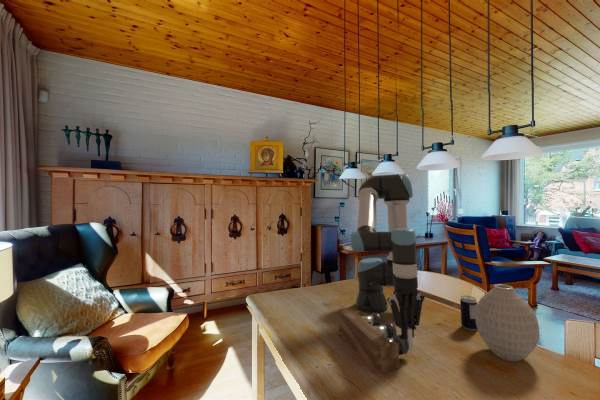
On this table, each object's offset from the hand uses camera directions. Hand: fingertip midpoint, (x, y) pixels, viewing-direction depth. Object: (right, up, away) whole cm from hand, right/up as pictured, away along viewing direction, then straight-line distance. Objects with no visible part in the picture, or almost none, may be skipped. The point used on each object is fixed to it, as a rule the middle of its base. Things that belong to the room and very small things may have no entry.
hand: (408, 347), depth 84 cm
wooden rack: (-12, -4, +6) cm, 14 cm away
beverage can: (+32, -3, +18) cm, 37 cm away
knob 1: (-9, -2, +16) cm, 19 cm away
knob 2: (-6, -2, +8) cm, 10 cm away
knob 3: (-6, -1, -2) cm, 7 cm away
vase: (+32, -2, -1) cm, 32 cm away
